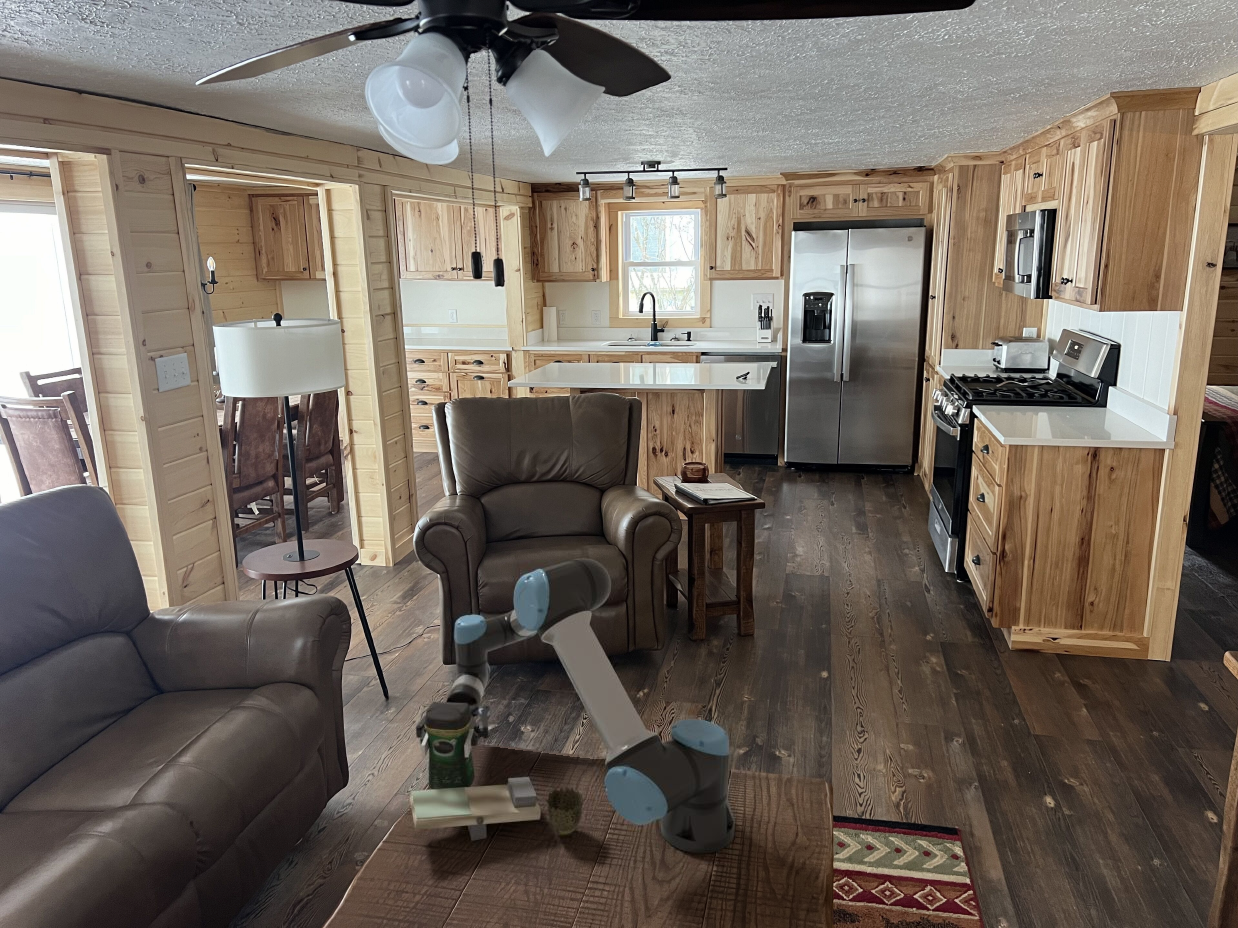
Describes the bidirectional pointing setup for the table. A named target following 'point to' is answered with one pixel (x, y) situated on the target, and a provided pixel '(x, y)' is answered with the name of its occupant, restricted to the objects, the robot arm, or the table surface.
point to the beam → (475, 805)
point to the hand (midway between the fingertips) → (444, 751)
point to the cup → (564, 810)
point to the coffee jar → (448, 745)
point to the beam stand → (477, 831)
